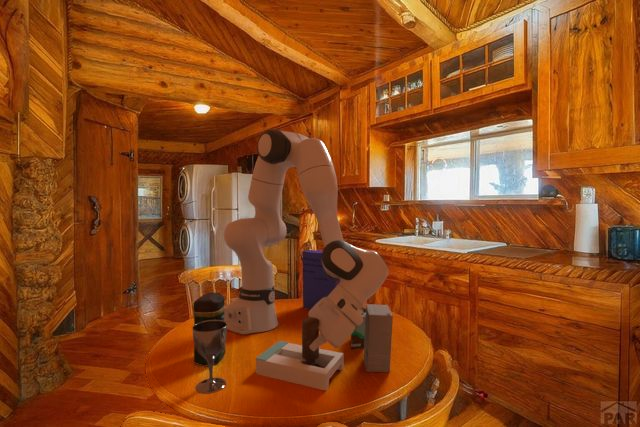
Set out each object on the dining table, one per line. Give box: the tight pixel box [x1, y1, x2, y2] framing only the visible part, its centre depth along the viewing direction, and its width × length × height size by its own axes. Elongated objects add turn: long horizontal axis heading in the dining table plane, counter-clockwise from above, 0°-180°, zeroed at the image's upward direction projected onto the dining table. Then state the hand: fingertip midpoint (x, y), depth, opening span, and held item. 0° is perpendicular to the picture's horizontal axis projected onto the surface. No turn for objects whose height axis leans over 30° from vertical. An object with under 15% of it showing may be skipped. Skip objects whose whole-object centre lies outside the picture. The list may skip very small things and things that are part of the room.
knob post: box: [301, 316, 322, 368], centre depth 90 cm, size 5×5×14 cm
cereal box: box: [301, 249, 340, 311], centre depth 140 cm, size 17×5×24 cm, turn 60°
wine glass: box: [192, 320, 228, 395], centre depth 84 cm, size 8×8×15 cm
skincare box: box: [362, 303, 394, 373], centre depth 94 cm, size 8×7×16 cm
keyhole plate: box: [255, 340, 345, 392], centre depth 91 cm, size 20×12×4 cm, turn 66°
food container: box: [350, 306, 366, 350], centre depth 108 cm, size 12×6×10 cm, turn 168°
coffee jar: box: [192, 292, 226, 366], centre depth 98 cm, size 10×8×19 cm
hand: (308, 343), depth 90 cm, fingers closed on knob post, 4 cm apart
